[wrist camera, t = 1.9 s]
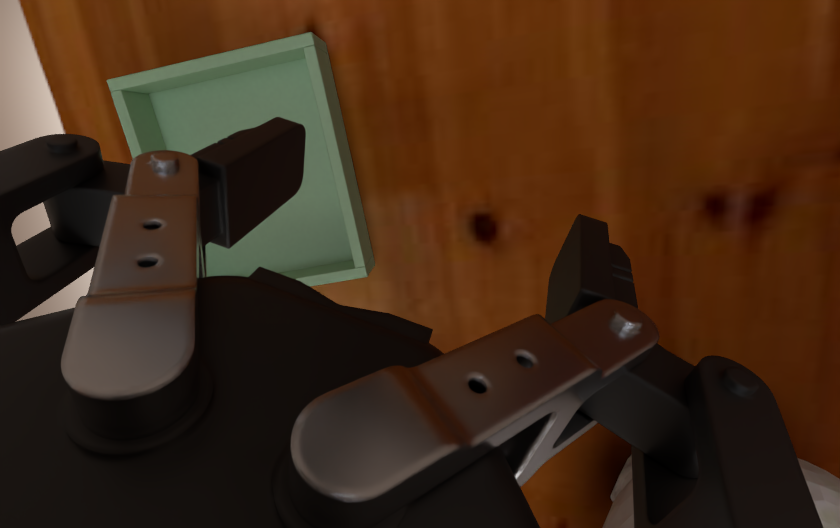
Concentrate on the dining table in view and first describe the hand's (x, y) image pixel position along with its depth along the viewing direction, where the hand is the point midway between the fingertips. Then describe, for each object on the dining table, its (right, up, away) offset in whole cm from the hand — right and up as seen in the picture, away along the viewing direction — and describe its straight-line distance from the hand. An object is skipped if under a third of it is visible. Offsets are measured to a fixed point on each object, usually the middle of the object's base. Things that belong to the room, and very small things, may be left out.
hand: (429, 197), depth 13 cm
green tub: (-13, +5, +22) cm, 26 cm away
